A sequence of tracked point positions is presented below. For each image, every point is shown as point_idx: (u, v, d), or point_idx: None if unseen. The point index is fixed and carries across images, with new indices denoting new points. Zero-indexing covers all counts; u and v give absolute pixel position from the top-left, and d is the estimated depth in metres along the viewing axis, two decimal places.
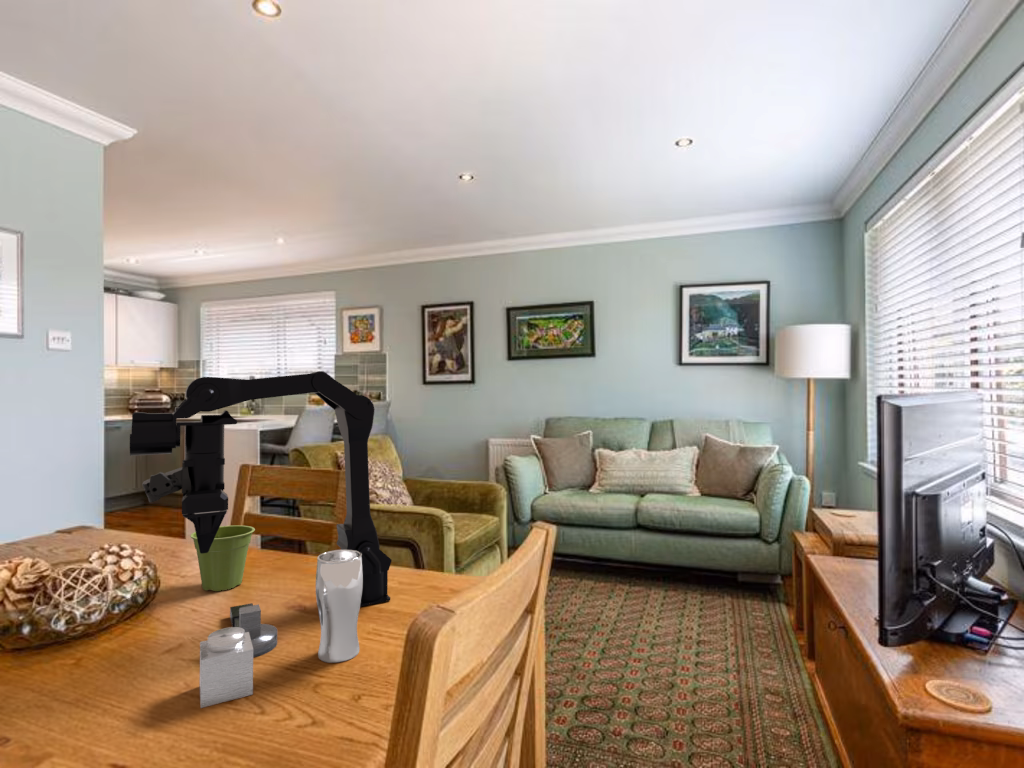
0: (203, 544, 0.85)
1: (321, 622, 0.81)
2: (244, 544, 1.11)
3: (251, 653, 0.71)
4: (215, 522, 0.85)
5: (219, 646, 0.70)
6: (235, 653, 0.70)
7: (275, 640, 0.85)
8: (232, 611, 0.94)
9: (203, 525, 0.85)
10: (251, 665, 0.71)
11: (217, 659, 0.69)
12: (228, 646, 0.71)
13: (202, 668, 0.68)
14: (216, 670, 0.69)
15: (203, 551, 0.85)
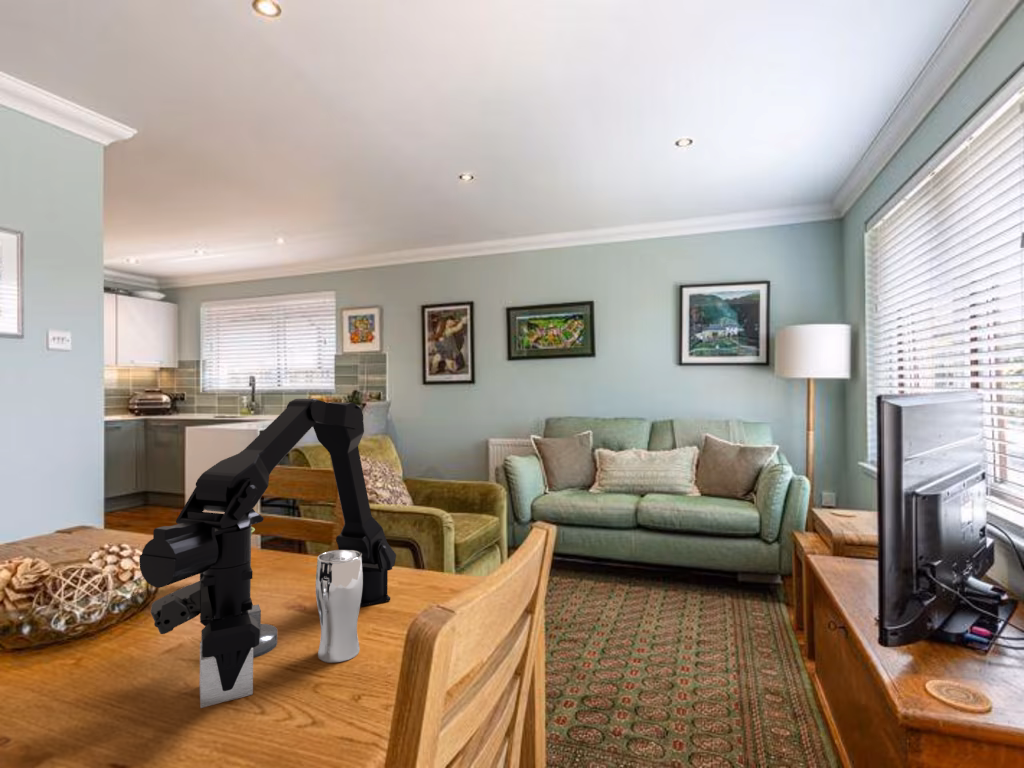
0: (226, 681, 0.69)
1: (321, 622, 0.81)
2: None
3: (251, 653, 0.71)
4: (241, 653, 0.69)
5: None
6: None
7: (275, 640, 0.85)
8: None
9: (227, 657, 0.69)
10: (251, 665, 0.71)
11: None
12: None
13: (202, 668, 0.68)
14: (216, 670, 0.69)
15: (226, 688, 0.69)
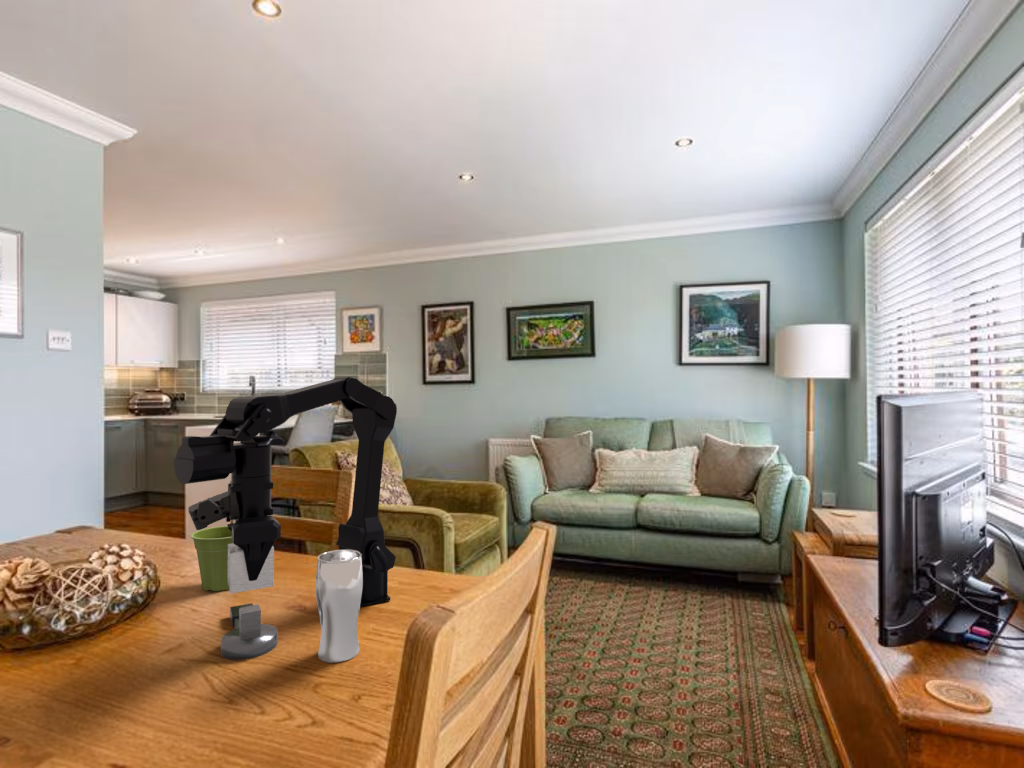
0: (252, 572, 0.82)
1: (321, 622, 0.81)
2: None
3: (272, 551, 0.84)
4: (265, 548, 0.82)
5: None
6: None
7: (275, 640, 0.85)
8: (232, 611, 0.94)
9: (252, 551, 0.81)
10: (272, 561, 0.84)
11: None
12: None
13: (231, 560, 0.81)
14: (243, 563, 0.82)
15: (252, 578, 0.82)
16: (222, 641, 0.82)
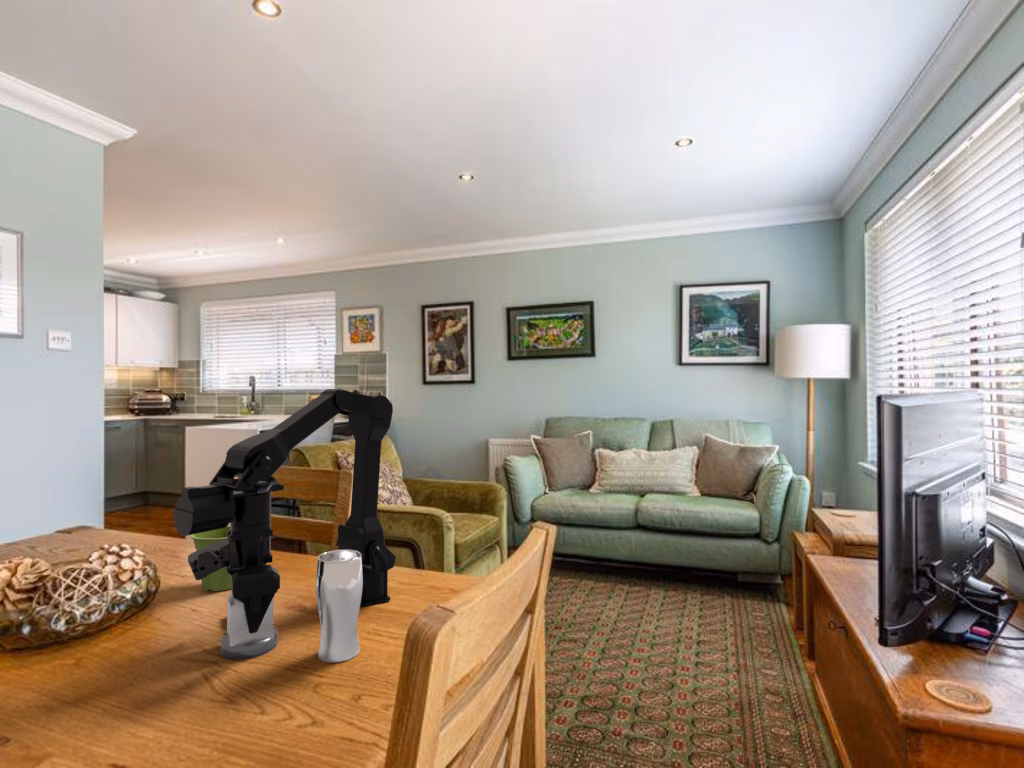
0: (252, 624, 0.80)
1: (321, 622, 0.81)
2: None
3: (272, 602, 0.84)
4: (265, 600, 0.80)
5: None
6: None
7: (275, 640, 0.85)
8: None
9: (253, 604, 0.80)
10: (272, 612, 0.84)
11: (243, 606, 0.82)
12: None
13: (231, 613, 0.81)
14: (242, 615, 0.82)
15: (252, 631, 0.81)
16: (222, 641, 0.82)
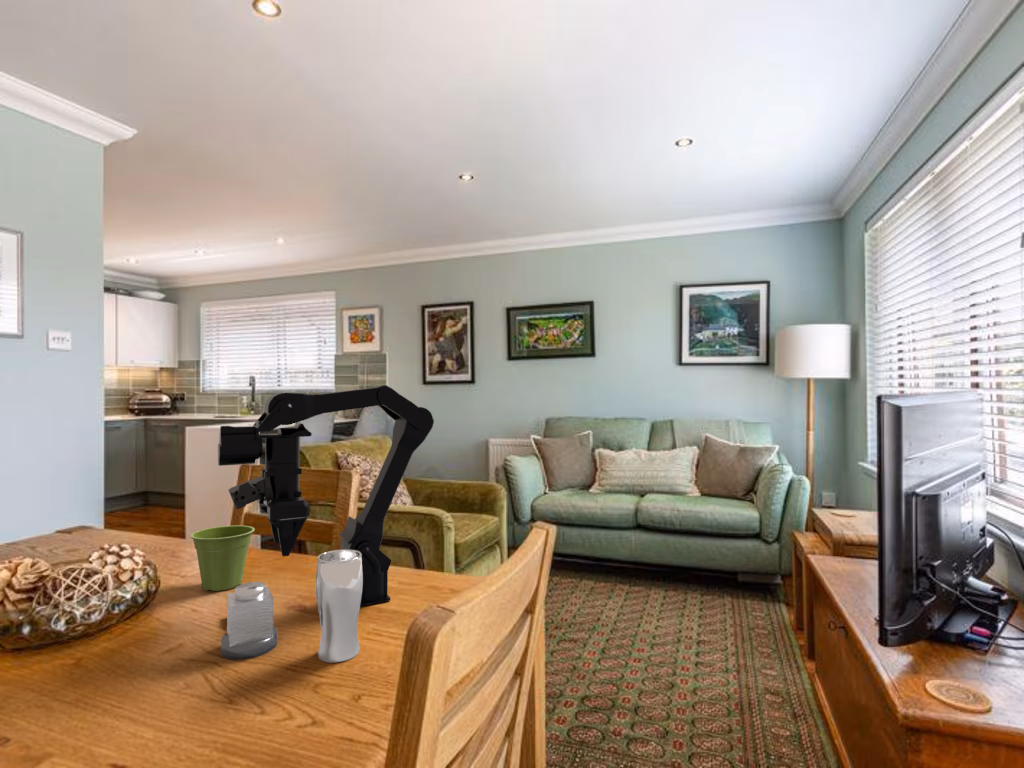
0: (285, 548, 0.92)
1: (321, 622, 0.81)
2: (244, 544, 1.11)
3: (272, 602, 0.84)
4: (296, 527, 0.92)
5: (245, 596, 0.83)
6: (258, 602, 0.83)
7: (275, 640, 0.85)
8: None
9: (286, 530, 0.92)
10: (271, 612, 0.84)
11: (243, 606, 0.82)
12: (252, 596, 0.83)
13: (231, 613, 0.81)
14: (242, 615, 0.82)
15: (285, 554, 0.92)
16: (222, 641, 0.82)
